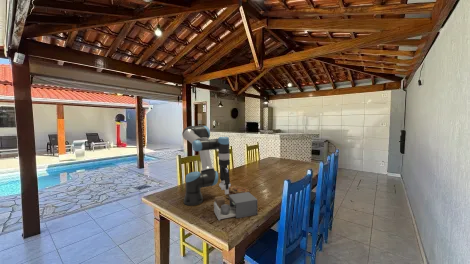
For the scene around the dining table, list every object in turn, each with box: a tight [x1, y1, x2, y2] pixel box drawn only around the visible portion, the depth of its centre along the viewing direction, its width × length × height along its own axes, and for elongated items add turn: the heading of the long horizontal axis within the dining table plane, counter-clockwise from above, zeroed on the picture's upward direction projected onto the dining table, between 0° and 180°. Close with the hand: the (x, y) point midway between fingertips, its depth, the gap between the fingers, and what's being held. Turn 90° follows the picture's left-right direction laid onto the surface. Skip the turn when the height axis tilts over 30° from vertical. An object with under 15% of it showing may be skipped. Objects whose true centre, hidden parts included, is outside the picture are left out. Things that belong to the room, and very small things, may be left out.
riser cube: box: [214, 195, 226, 209], centre depth 146 cm, size 6×6×6 cm
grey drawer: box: [213, 201, 236, 221], centre depth 133 cm, size 13×16×7 cm
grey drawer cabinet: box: [228, 192, 258, 219], centre depth 137 cm, size 15×16×10 cm
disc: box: [218, 181, 231, 188], centre depth 132 cm, size 8×8×2 cm
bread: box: [225, 184, 251, 199], centre depth 159 cm, size 19×11×10 cm, turn 57°
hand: (224, 191), depth 132 cm, fingers closed on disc, 8 cm apart
